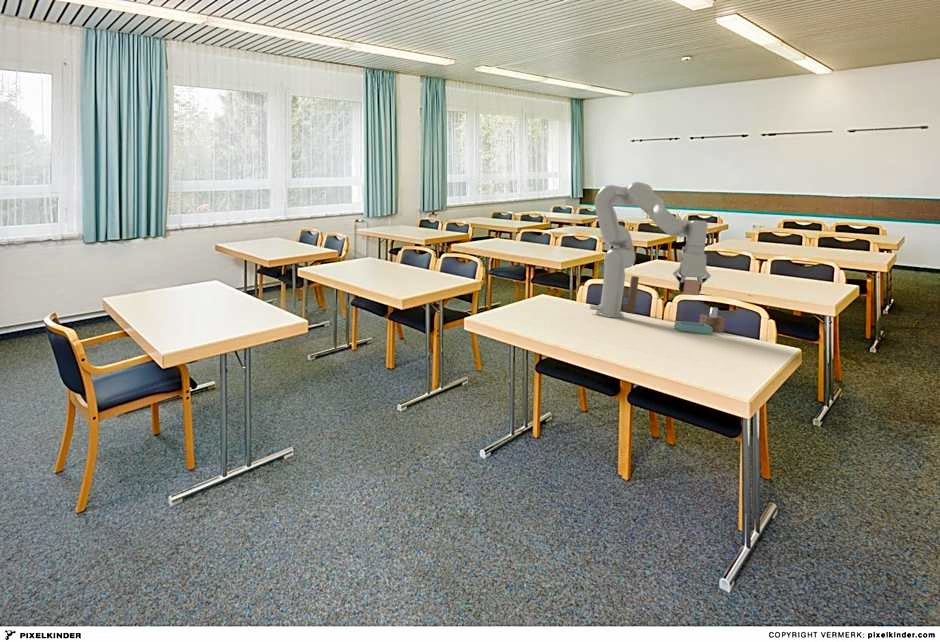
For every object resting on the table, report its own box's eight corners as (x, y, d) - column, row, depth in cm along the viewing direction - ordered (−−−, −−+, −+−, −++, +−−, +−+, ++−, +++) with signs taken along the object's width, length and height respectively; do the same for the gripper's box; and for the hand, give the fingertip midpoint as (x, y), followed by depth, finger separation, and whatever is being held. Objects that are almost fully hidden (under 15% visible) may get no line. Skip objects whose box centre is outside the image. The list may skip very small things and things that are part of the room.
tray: (680, 331, 245) (681, 324, 245) (674, 327, 255) (675, 320, 254) (711, 335, 244) (712, 327, 244) (704, 330, 254) (705, 323, 253)
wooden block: (615, 309, 297) (620, 274, 294) (635, 312, 291) (640, 276, 287) (612, 309, 294) (617, 274, 291) (632, 313, 288) (637, 277, 285)
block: (683, 294, 246) (685, 280, 245) (680, 292, 252) (681, 279, 251) (698, 295, 246) (700, 281, 245) (694, 293, 252) (696, 280, 251)
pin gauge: (708, 330, 255) (711, 307, 254) (706, 329, 258) (709, 307, 256) (715, 331, 255) (719, 308, 253) (713, 329, 258) (716, 307, 256)
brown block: (704, 330, 253) (706, 317, 252) (698, 327, 261) (700, 314, 260) (722, 332, 252) (725, 319, 251) (716, 329, 260) (719, 316, 259)
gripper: (676, 249, 243) (670, 291, 246) (718, 252, 242) (712, 295, 245) (671, 248, 250) (666, 290, 253) (713, 251, 249) (707, 293, 252)
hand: (689, 292), depth 249 cm, fingers closed on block, 6 cm apart
